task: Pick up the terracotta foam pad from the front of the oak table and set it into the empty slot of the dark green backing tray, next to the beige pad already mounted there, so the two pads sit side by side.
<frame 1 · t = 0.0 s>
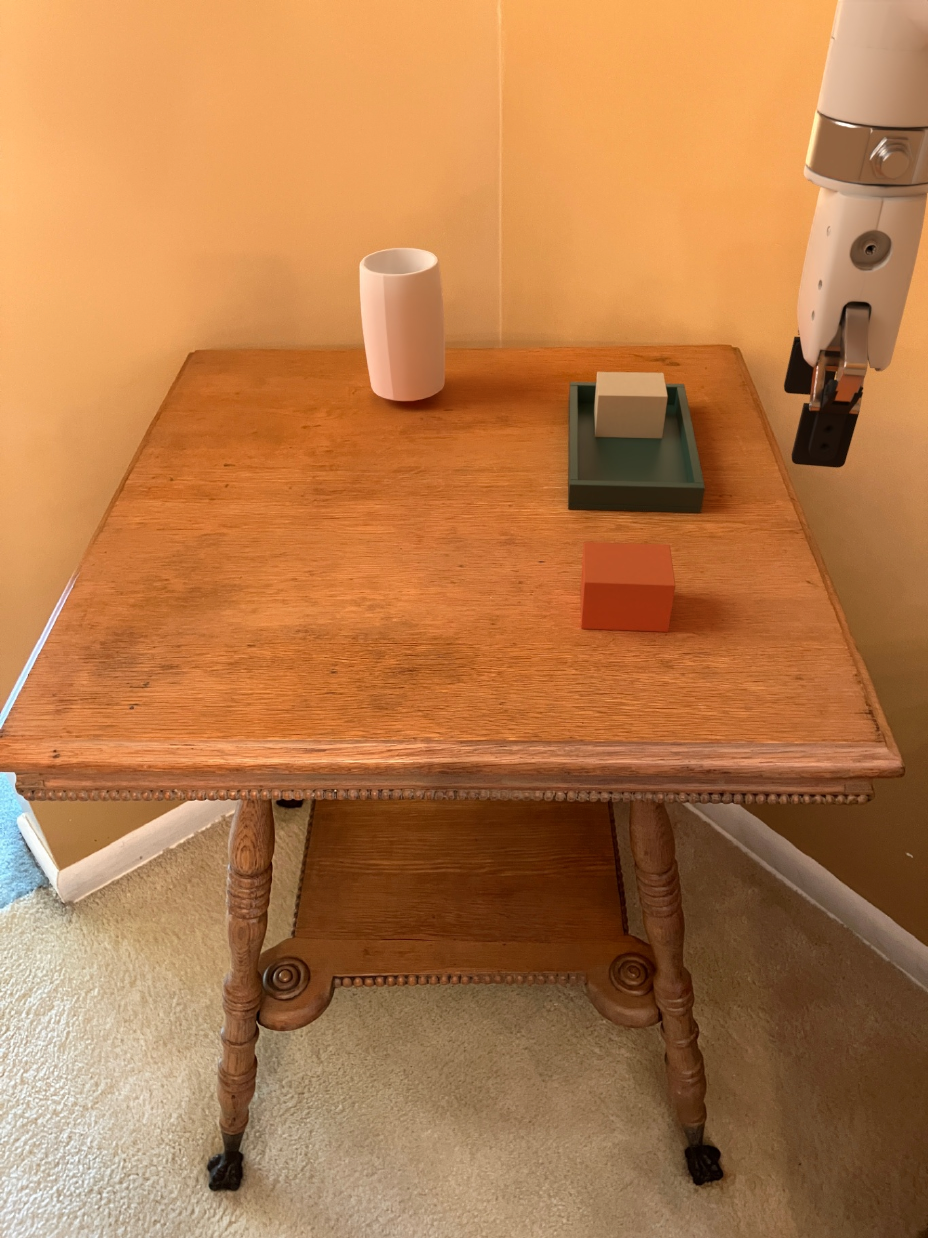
hand: (811, 426, 62), 15 cm above the table, tool pointing down, fingers open, 9 cm apart
cup: (408, 395, 99), on the table
backing tray: (628, 453, 88), on the table
pad a: (627, 425, 91), point 1 cm above the table, touching backing tray
pad b: (622, 609, 71), on the table
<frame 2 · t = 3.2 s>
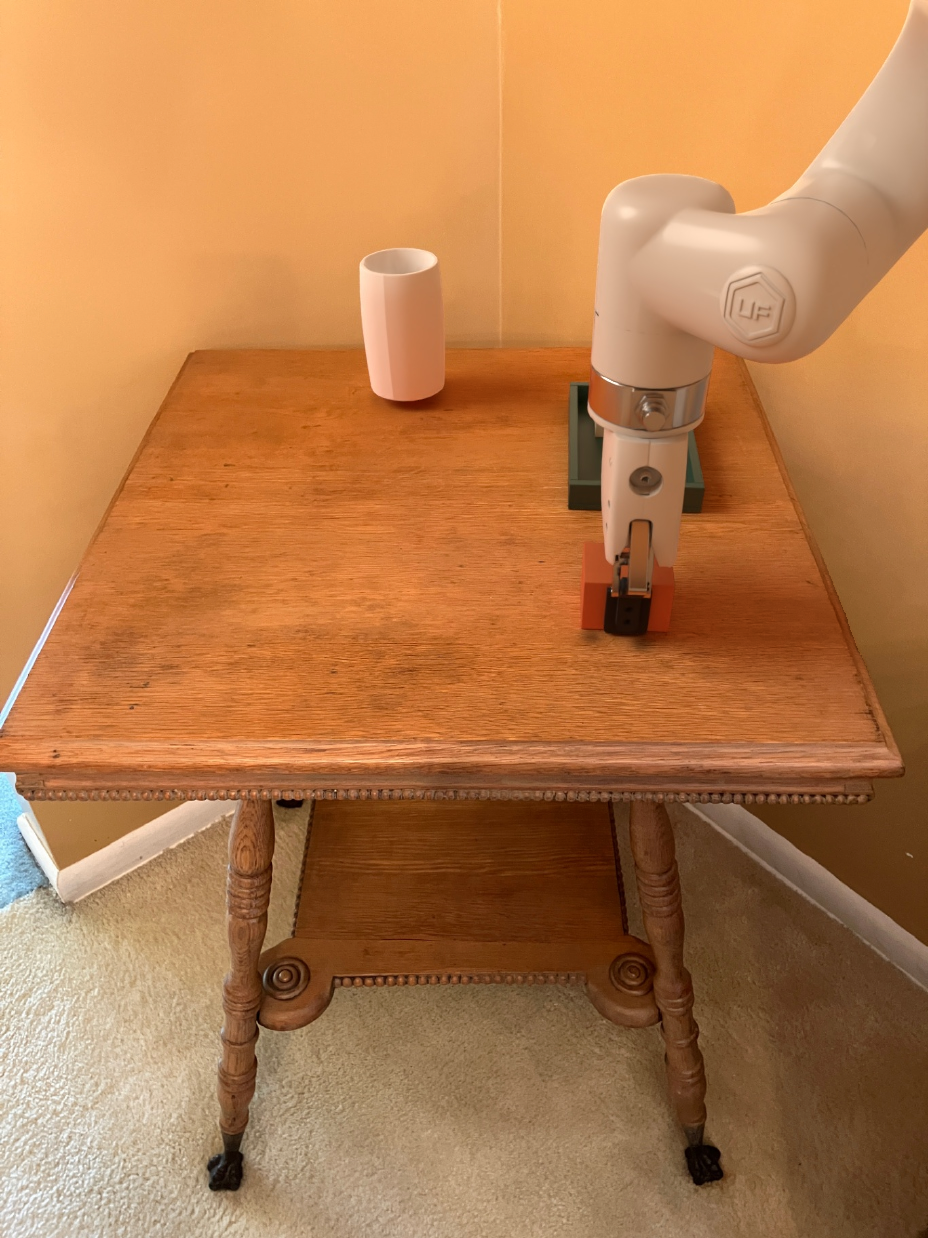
hand: (623, 604, 70), 0 cm above the table, tool pointing down, fingers closed on pad b, 5 cm apart
pad b: (622, 609, 71), on the table, touching gripper
everything else where it was.
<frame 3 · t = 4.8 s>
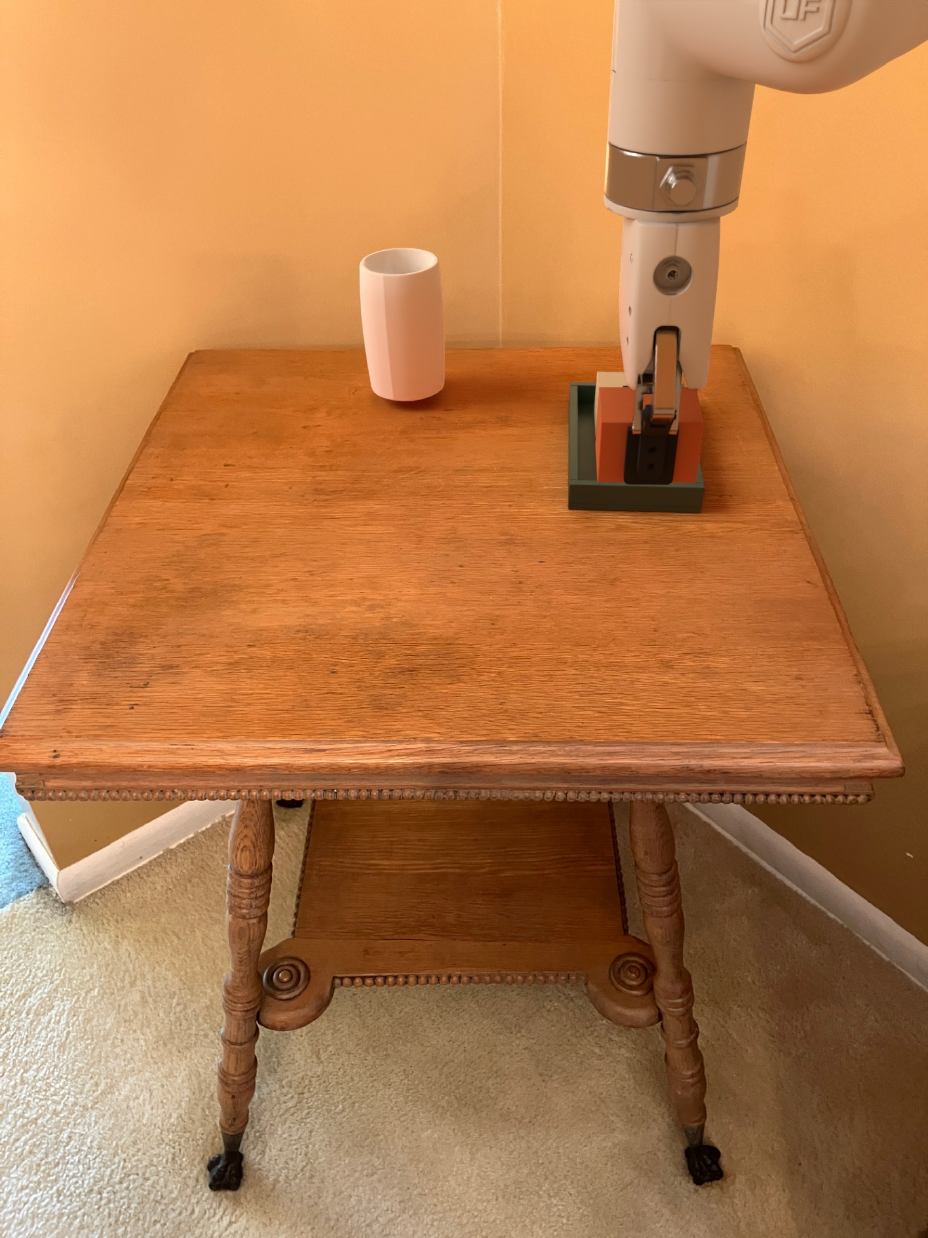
hand: (644, 457, 63), 13 cm above the table, tool pointing down, fingers closed on pad b, 5 cm apart
pad b: (643, 463, 63), point 13 cm above the table, touching gripper
everything else where it was.
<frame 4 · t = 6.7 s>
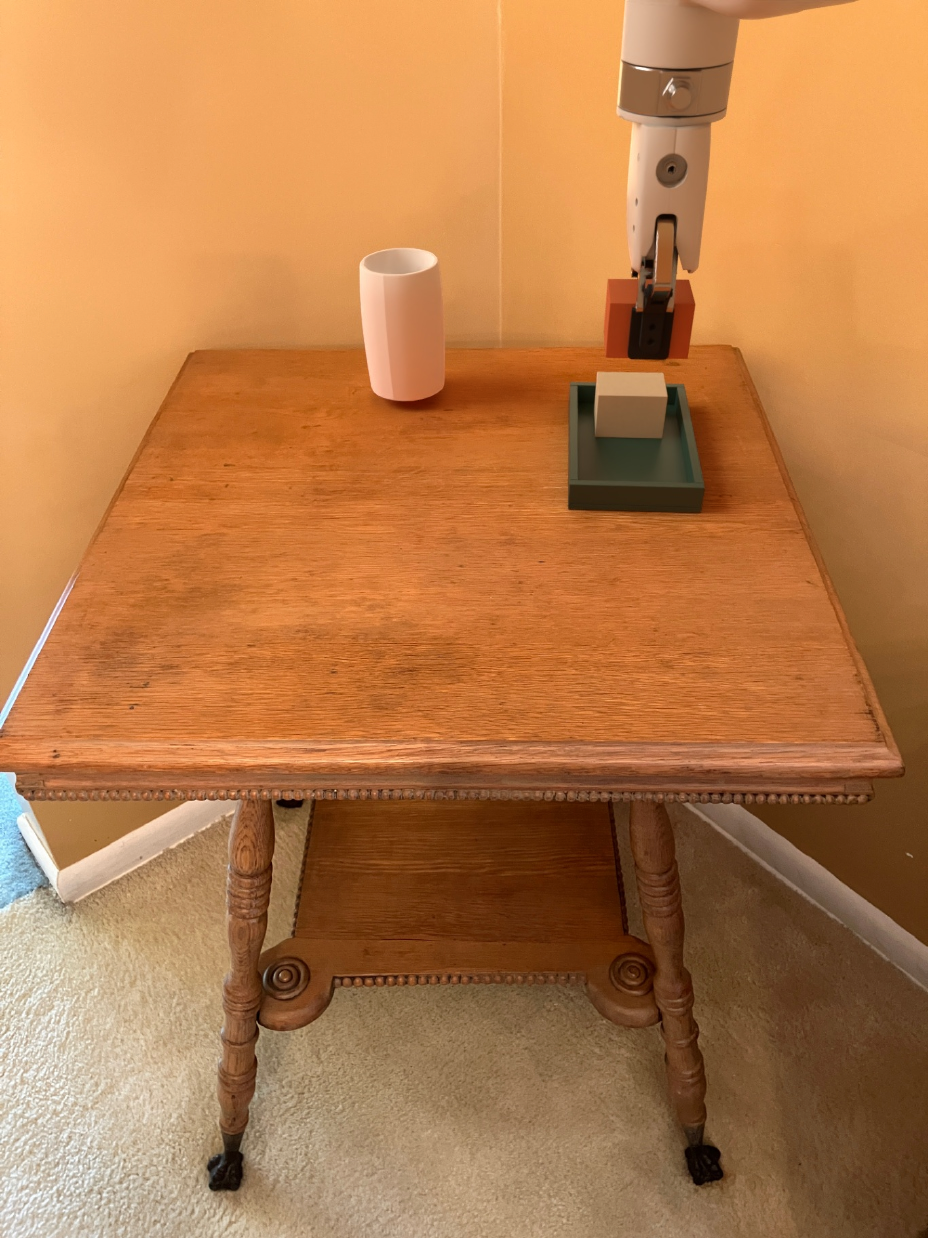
hand: (645, 340, 75), 14 cm above the table, tool pointing down, fingers closed on pad b, 5 cm apart
pad b: (644, 345, 75), point 14 cm above the table, touching gripper
everything else where it was.
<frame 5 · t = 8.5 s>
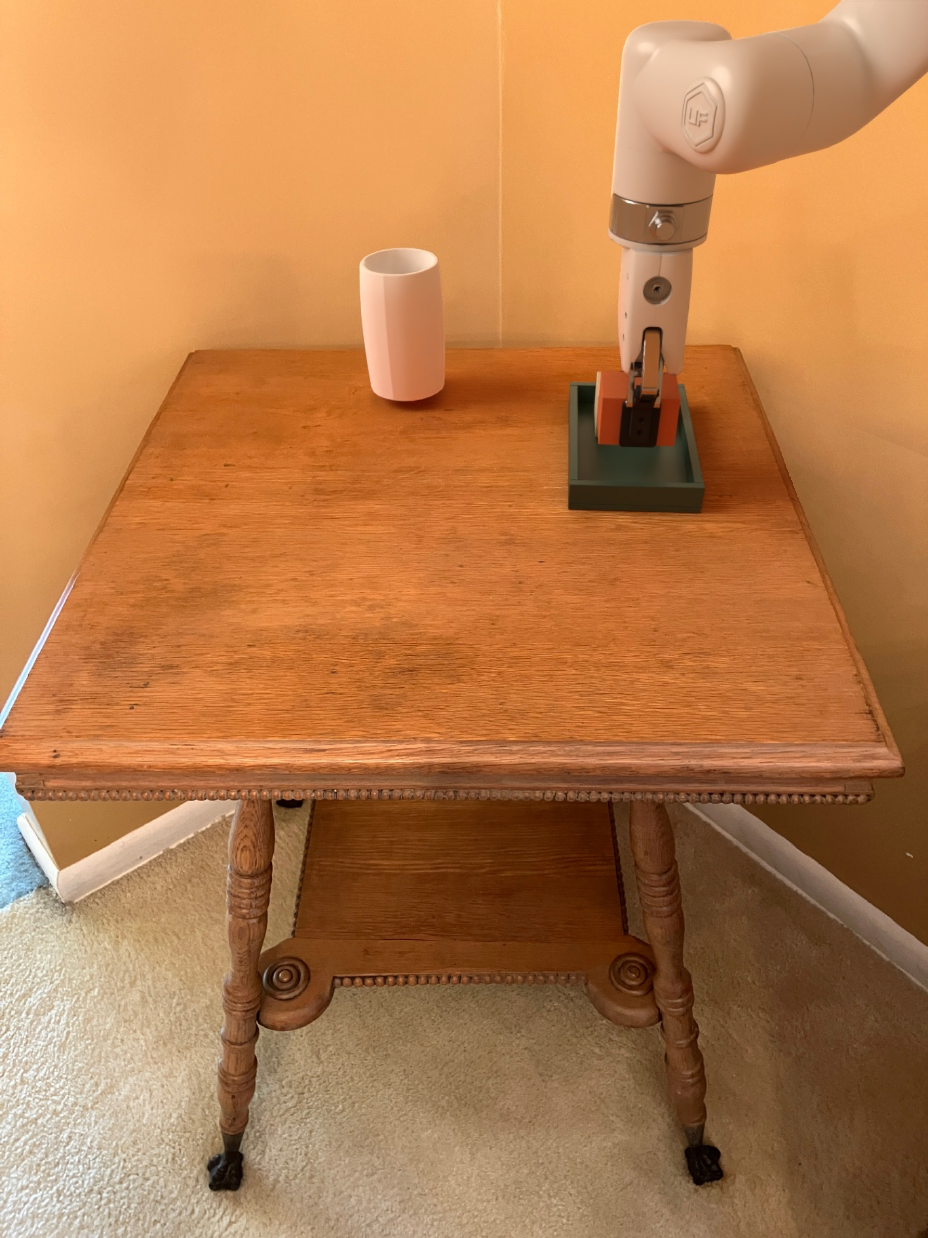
hand: (635, 426, 81), 5 cm above the table, tool pointing down, fingers closed on pad b, 5 cm apart
pad b: (634, 431, 82), point 5 cm above the table, touching gripper
everything else where it was.
when the fingers open (1 cm above the table, at t = 10.1 s): pad b stays where it is, resting on backing tray.
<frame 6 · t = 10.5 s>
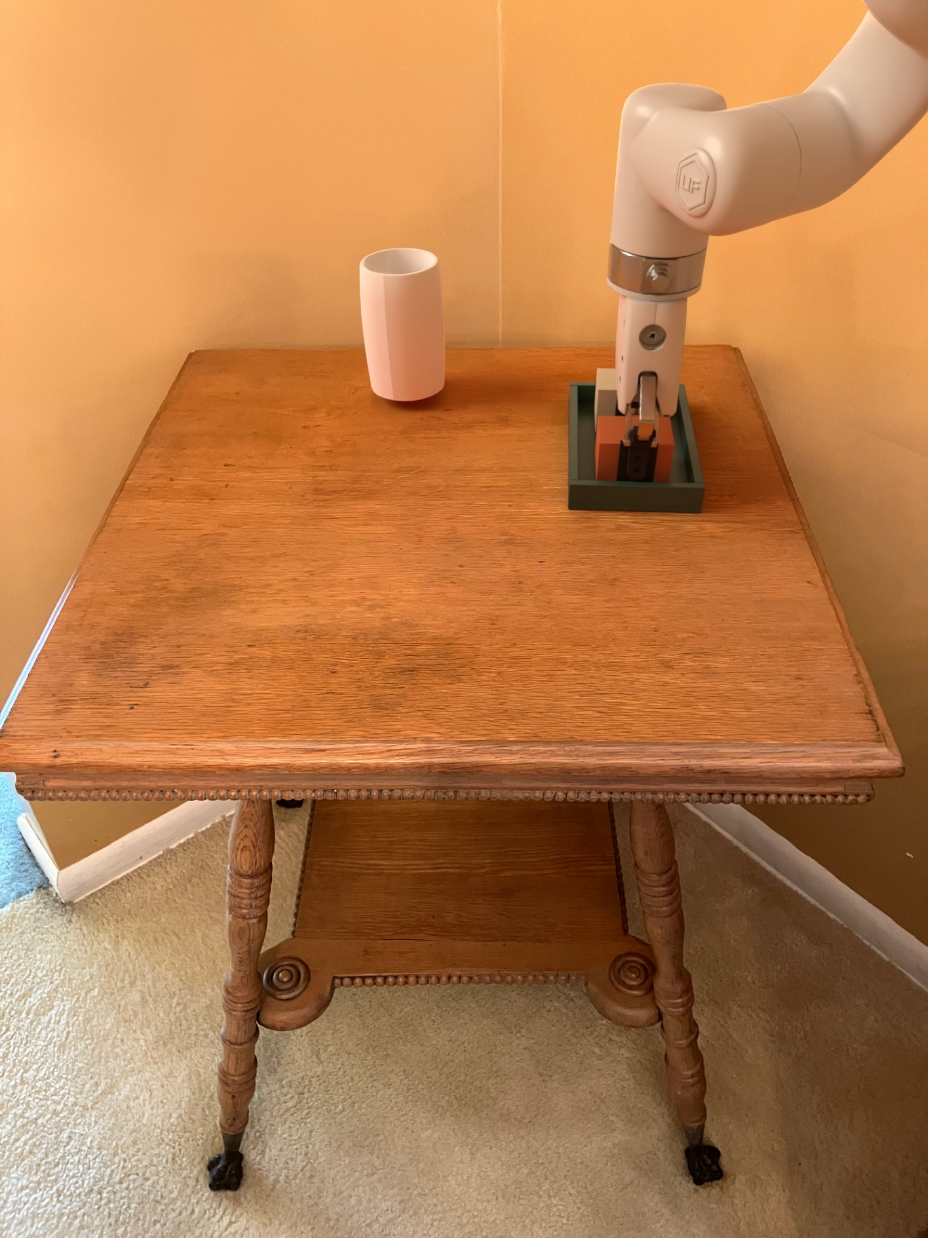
hand: (632, 453, 84), 2 cm above the table, tool pointing down, fingers open, 8 cm apart
pad a: (627, 421, 91), point 1 cm above the table, touching backing tray, gripper
pad b: (630, 473, 84), point 1 cm above the table, touching backing tray
everything else where it was.
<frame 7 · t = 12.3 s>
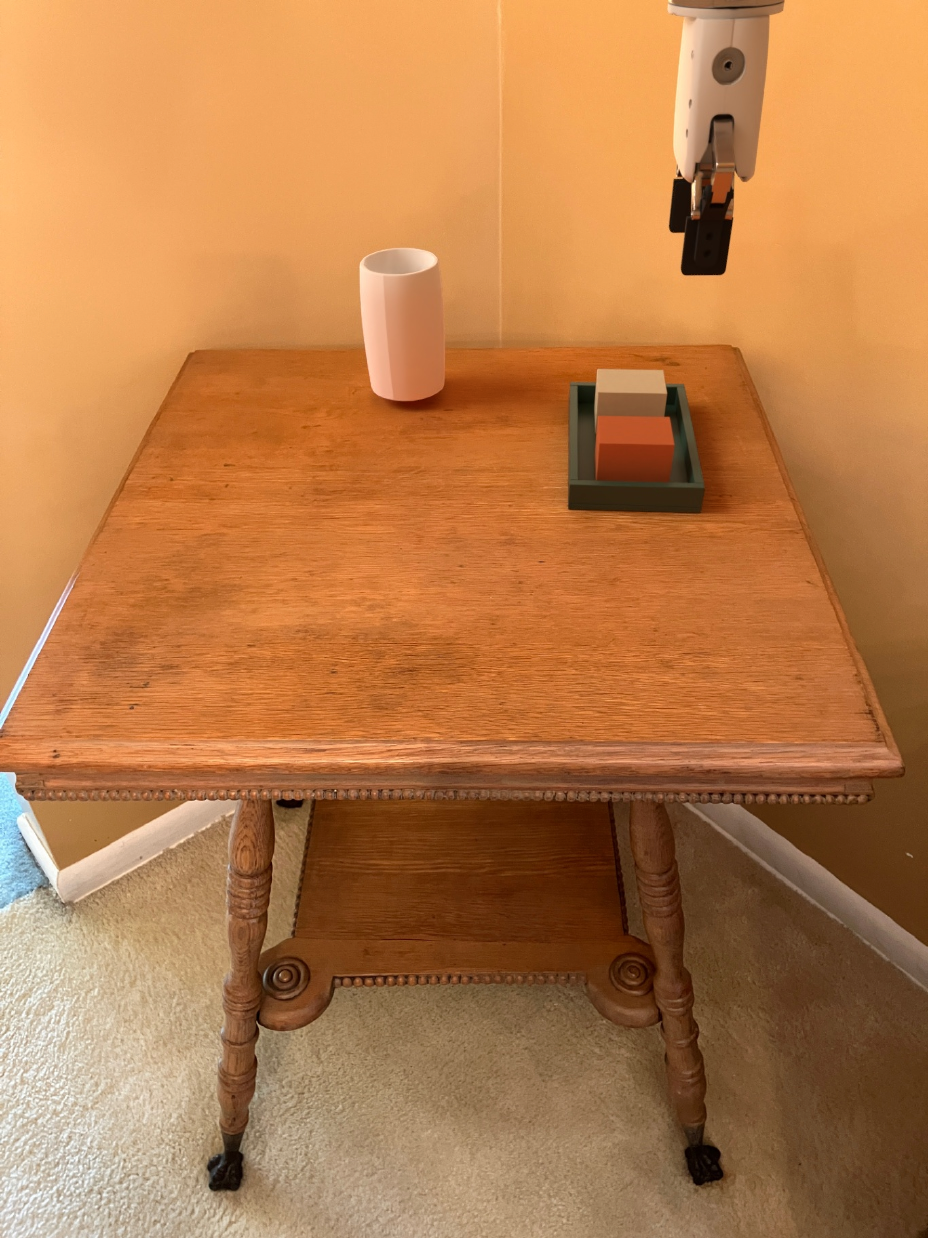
hand: (695, 251, 71), 21 cm above the table, tool pointing down, fingers open, 9 cm apart
pad a: (627, 422, 92), point 1 cm above the table, touching backing tray
everything else where it was.
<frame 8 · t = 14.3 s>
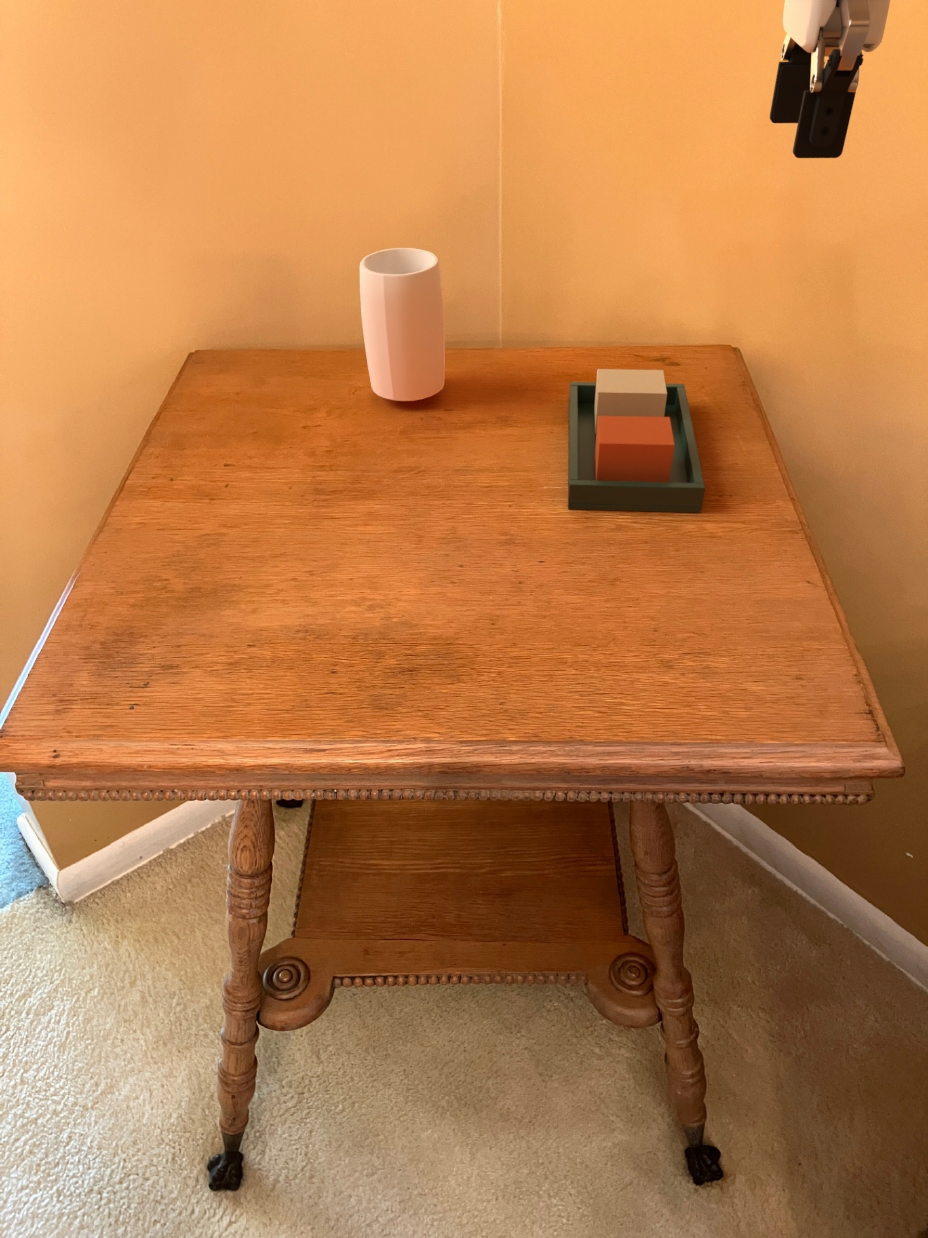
hand: (802, 138, 66), 28 cm above the table, tool pointing down, fingers open, 9 cm apart
nothing on the table moved.
at the end: pad b 0.1 cm from the target spot in the backing tray, point 0.6 cm above the backing tray's base; pad b 9.6 cm from the pad a (horizontally); pad b tilted 0° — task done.
